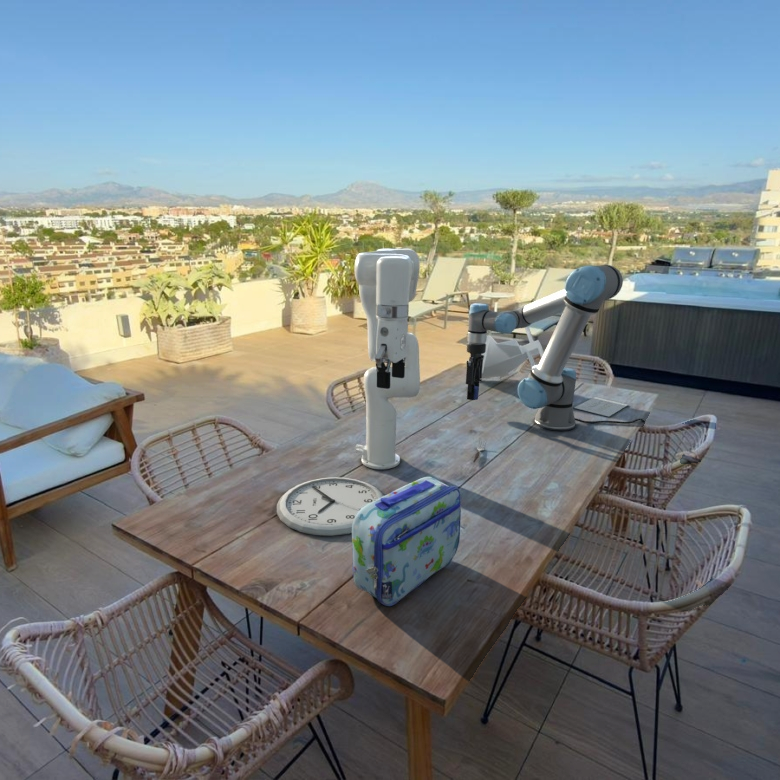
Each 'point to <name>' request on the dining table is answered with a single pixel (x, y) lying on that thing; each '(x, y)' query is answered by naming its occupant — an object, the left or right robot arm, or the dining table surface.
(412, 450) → the dining table surface
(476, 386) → the can
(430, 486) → the lunch box
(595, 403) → the invitation card
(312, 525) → the wall clock
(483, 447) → the fork
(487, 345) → the white plastic object
